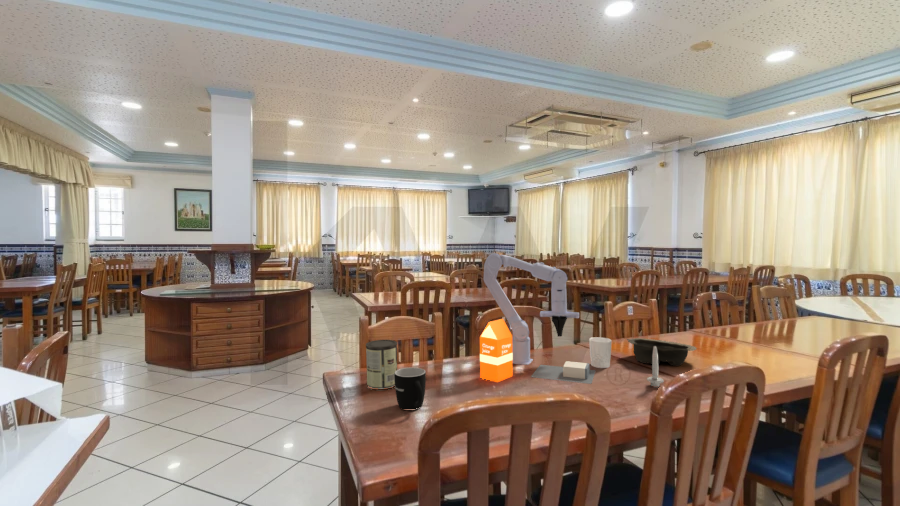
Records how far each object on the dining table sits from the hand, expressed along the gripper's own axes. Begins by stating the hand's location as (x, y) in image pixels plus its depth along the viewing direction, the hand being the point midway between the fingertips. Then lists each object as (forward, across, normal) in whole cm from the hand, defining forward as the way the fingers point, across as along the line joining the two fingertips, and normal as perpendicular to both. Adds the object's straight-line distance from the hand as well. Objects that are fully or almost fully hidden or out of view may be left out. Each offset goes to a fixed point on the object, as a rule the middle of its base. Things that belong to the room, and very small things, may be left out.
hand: (559, 335), depth 167 cm
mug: (+10, -32, -61) cm, 69 cm away
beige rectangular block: (+8, +4, -14) cm, 17 cm away
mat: (+10, +4, -14) cm, 18 cm away
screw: (+11, +32, -16) cm, 38 cm away
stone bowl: (+11, +36, +17) cm, 41 cm away
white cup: (+11, +14, +1) cm, 18 cm away
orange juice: (+10, -18, -26) cm, 33 cm away
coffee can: (+10, -50, -47) cm, 70 cm away
